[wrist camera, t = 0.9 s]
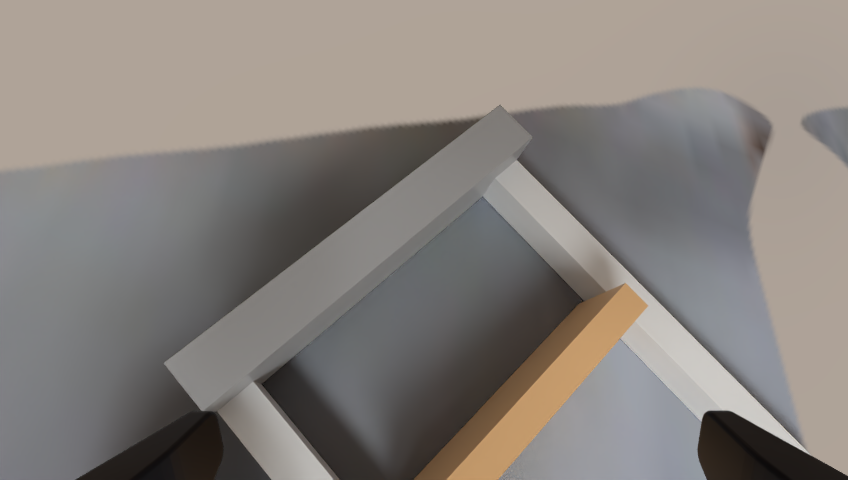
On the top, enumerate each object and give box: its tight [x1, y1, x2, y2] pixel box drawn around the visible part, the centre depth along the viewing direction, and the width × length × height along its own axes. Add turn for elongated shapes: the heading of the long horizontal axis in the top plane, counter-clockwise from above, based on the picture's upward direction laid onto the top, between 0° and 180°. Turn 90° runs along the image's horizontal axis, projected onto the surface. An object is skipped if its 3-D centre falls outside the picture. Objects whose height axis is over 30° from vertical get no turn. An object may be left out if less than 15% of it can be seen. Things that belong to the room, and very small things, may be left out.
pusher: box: [413, 283, 648, 480], centre depth 19 cm, size 12×1×4 cm, turn 133°
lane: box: [164, 105, 810, 480], centre depth 19 cm, size 16×22×4 cm
